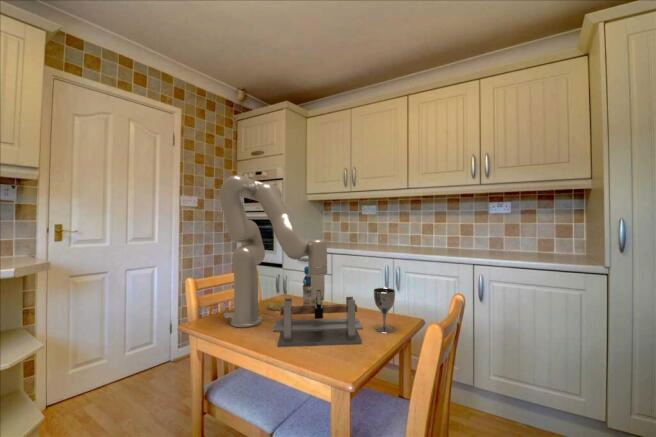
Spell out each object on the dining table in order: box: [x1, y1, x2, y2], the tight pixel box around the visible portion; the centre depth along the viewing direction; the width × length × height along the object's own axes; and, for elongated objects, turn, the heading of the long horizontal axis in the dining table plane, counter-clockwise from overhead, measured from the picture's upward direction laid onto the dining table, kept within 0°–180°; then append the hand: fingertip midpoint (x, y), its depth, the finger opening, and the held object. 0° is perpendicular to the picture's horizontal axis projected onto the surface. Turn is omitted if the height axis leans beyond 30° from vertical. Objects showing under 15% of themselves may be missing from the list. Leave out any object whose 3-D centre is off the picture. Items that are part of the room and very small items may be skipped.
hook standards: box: [277, 296, 363, 348], centre depth 106 cm, size 28×10×14 cm, turn 94°
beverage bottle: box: [302, 265, 315, 306], centre depth 141 cm, size 8×8×20 cm
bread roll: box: [266, 299, 285, 311], centre depth 144 cm, size 8×9×4 cm
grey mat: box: [272, 317, 364, 333], centre depth 120 cm, size 34×11×1 cm, turn 94°
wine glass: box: [373, 287, 396, 334], centre depth 115 cm, size 8×8×15 cm
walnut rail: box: [279, 303, 358, 316], centre depth 120 cm, size 30×3×2 cm, turn 94°
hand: (318, 316), depth 120 cm, fingers closed on walnut rail, 3 cm apart
